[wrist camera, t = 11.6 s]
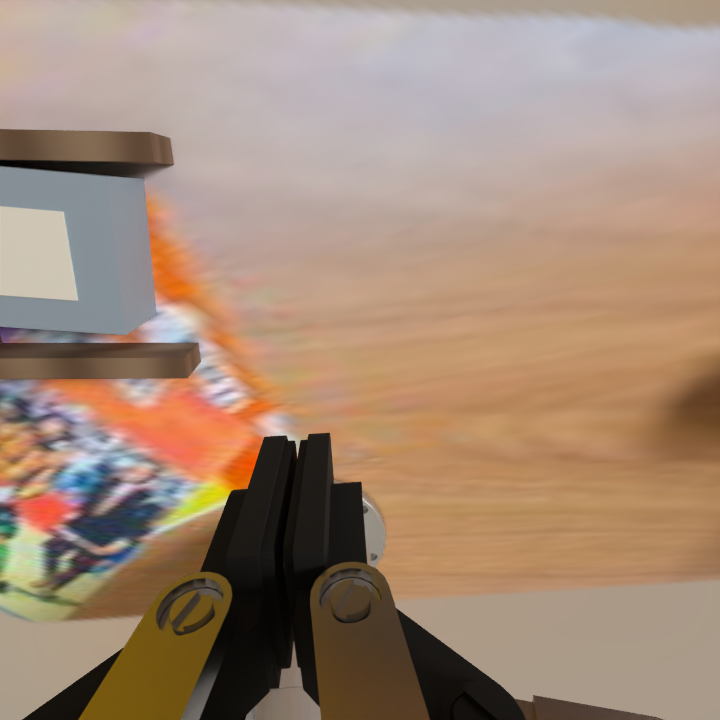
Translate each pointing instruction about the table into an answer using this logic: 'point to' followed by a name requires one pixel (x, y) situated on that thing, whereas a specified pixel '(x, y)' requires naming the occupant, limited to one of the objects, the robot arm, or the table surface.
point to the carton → (74, 252)
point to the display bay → (92, 356)
